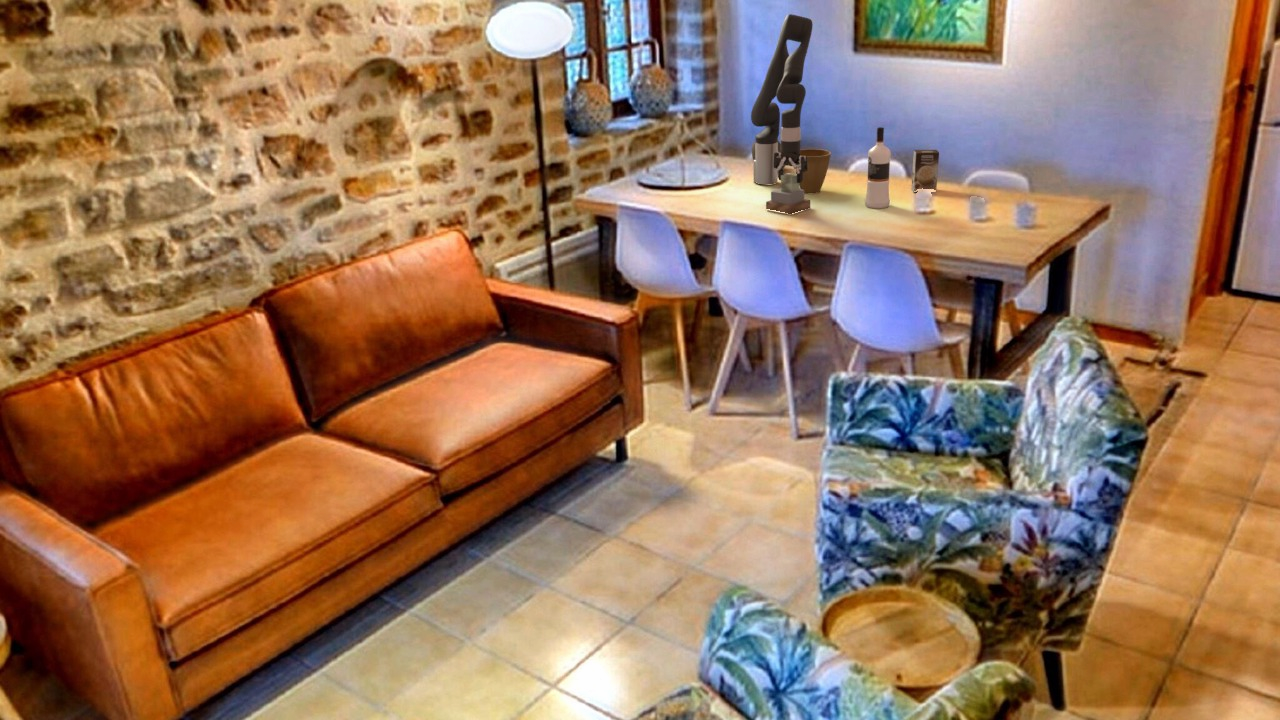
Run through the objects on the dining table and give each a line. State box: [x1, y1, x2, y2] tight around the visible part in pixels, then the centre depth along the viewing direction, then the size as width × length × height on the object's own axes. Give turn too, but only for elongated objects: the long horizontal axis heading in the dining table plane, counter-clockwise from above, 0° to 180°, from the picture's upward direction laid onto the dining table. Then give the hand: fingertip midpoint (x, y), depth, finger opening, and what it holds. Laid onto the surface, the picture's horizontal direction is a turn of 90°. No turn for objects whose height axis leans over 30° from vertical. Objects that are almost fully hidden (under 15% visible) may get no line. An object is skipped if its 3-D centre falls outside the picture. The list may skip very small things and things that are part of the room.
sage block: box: [780, 172, 800, 193], centre depth 405 cm, size 5×5×6 cm
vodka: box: [864, 126, 892, 210], centre depth 403 cm, size 9×9×30 cm
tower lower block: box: [765, 198, 811, 214], centre depth 409 cm, size 12×12×4 cm
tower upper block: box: [770, 187, 805, 205], centre depth 407 cm, size 9×9×4 cm
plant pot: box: [794, 148, 832, 194], centre depth 430 cm, size 15×15×16 cm
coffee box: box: [910, 149, 940, 193], centre depth 423 cm, size 9×6×16 cm
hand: (790, 181), depth 405 cm, fingers open, 8 cm apart
